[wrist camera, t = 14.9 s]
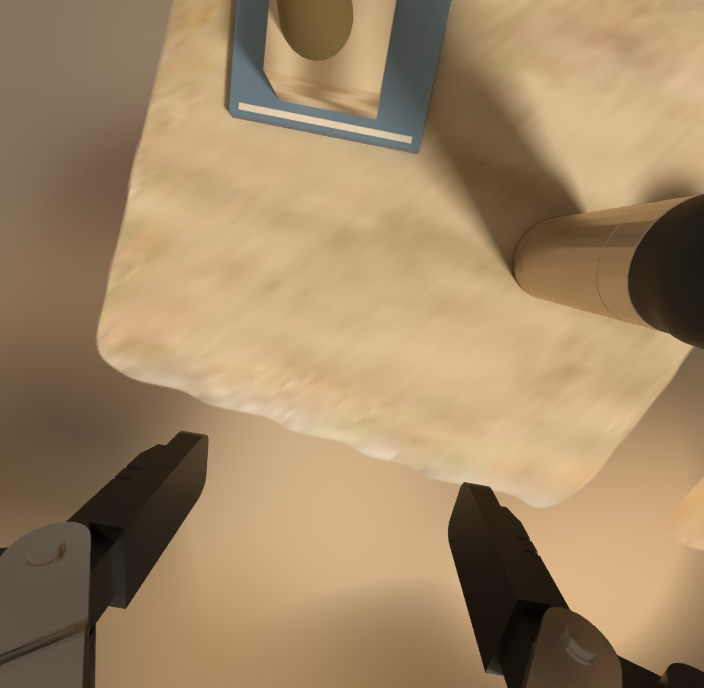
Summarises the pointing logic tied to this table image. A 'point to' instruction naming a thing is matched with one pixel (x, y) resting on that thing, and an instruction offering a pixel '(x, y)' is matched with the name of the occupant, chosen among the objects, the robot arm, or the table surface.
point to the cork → (316, 26)
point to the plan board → (386, 131)
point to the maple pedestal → (334, 63)
